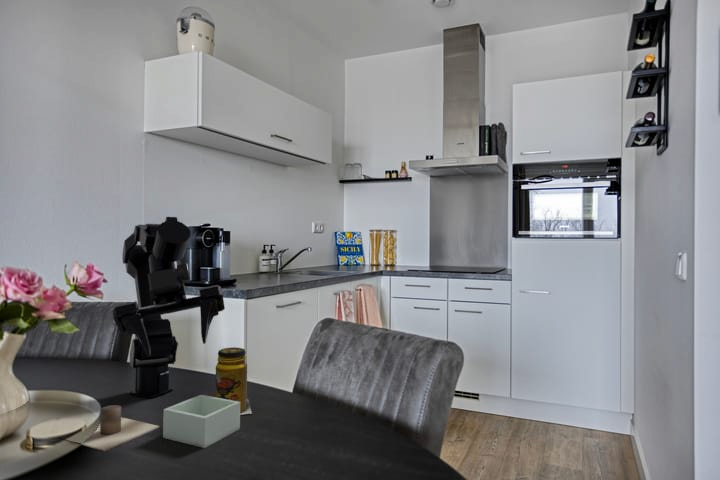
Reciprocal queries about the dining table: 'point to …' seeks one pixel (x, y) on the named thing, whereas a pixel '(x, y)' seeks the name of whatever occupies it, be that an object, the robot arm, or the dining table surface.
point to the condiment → (232, 377)
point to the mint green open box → (201, 420)
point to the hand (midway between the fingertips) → (177, 349)
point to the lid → (115, 429)
